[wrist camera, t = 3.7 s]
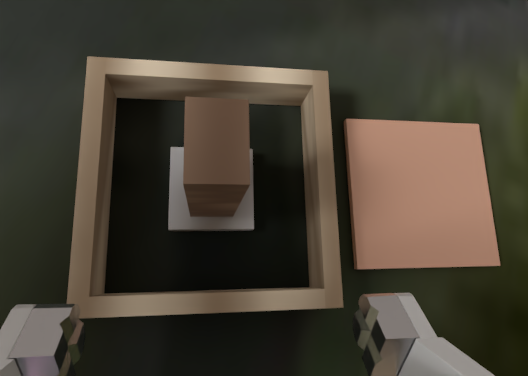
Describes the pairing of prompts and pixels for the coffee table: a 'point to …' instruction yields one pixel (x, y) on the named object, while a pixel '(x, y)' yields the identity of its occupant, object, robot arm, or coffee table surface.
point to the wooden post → (212, 168)
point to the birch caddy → (177, 88)
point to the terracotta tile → (418, 195)
